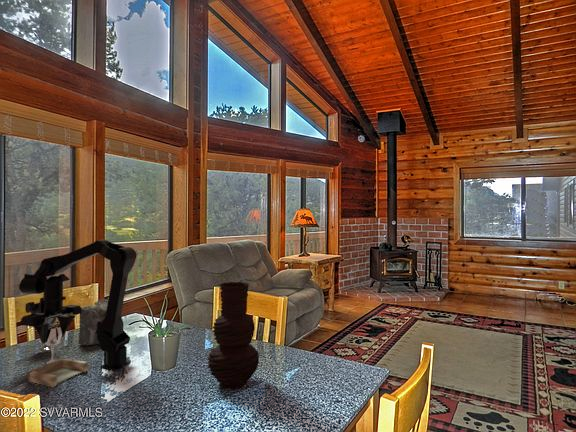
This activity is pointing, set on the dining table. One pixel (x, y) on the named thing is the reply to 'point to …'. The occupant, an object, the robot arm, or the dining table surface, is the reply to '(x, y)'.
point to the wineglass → (53, 338)
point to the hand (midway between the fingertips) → (52, 340)
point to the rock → (91, 322)
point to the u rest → (57, 371)
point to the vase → (233, 339)
